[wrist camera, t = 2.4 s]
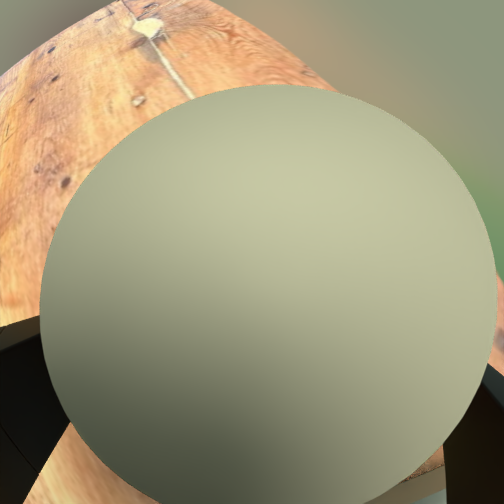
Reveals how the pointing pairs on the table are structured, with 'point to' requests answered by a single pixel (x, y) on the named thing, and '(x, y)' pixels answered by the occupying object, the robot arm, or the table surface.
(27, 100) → the table surface
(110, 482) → the table surface
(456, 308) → the coffee tin
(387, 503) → the grey shallow tray
